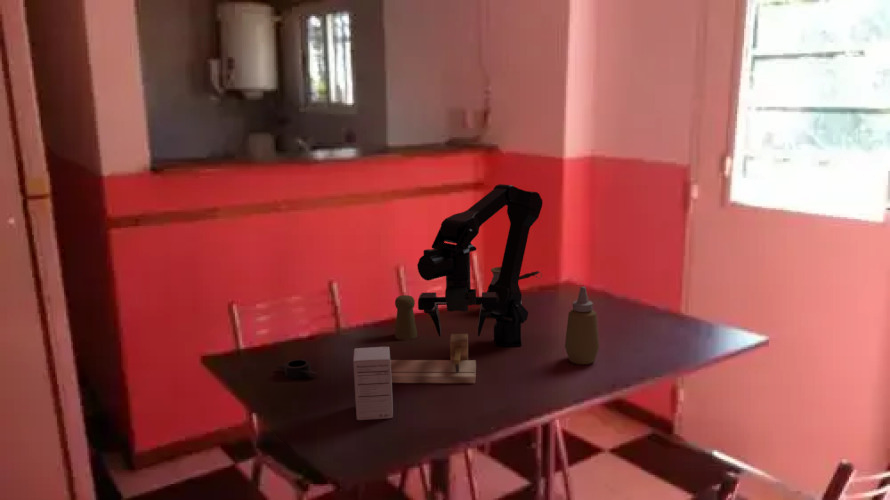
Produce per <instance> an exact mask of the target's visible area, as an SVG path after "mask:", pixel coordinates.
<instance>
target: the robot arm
mask: <svg viewBox="0 0 890 500" xmlns="http://www.w3.org/2000/svg"><path fill="white" fill-rule="evenodd" d="M506 206H507V208H506V214H507V217H508V220H509V224H510V225H509V229H508V232H507V233H508V234H507V239H506V243H505V247H504V253H503V257H502V262H501V266H500V267H501V270H500V275H499V279H498V280H497V281H496V282H495V284H494V285H492V284H490V283H489V284H488V287H487V290H488V292H487V291H486V292H485V291H483V292H481V296H477V289H476V288H471V286H472V285H471V252H474V251H477V247H476V246H475V245H473V244H472V242H473V240H474V239H475V238H476V237H477V236H478V234H479V232H480V227H482V225H483V224H485V223H486V222H487V221H488V220H490V219H491V218H492V217H493V216H494V215H495V214H497V213H498V212H499V211H500V210H502V209H503V208H504V207H506ZM542 208H543V199H542V197H541V195H540V193H539V192H537V191H528V190H526V189H525V190H524V189H520V188H519V187H516V186H514V185H513V184H511V185H510V184H504V183H503V184H501V183H499V184H496V185H495V186H494V187H493V189H492V190H491V191H490V192H488V193H487V194H486V195H485V196H483V197H482V198H480V199H479V200H478V201H477V202H475V203H474V204H473V205H472V206H470V207H469V208H468V209H467V210H465V211H462V212H458V213H454V214H452V215H450V216H448V217H446V218H444V219H443V221H442V222H441V224H440V227H439V229H438V231H437V233H436V236H435V238H434V241H433V242H432V245H431V249H428V248H427V249H424V250H423V255H422V256H421V257H419V259H418V262H417V264H416V265H417V271H418V274H419V276H420V277H421V278H422V280H425V281H427V282H428V281H432V280H436V279H439V278H444V277H445V286H446V287H445V291H444V296H437V292H421V293H420V294H419V296H418V298H417V299H418V300H417V309H418V311H423V312H424V314H428V315H429V316H430V318H431V320H432V321H433V323H434V327H435V330H436V332H437V335H438V337H442V328H441V327H442V326H441V319H440V311H439V306H446V310H447V312H463V313H465V312H467V311H468V310H469V306H476V305H478V306H480V309H479V316H478V326H477V337H480V336H481V333H482V329H483V326H484V323H485V321H486V318H487V316H488V315H489V318H490V319H495V322H494V323H493V341H494V342H495V346H496V347H521V346H522V345H523V343H522V324H524V323H525V322H526V321H528V317H529V311H528V310H527V309H526V307H524V305H523V303H522V304H521V301H522V292H521V288H520V284H519V281H520V280H519V276H521V275H520V274H521V272H522V271H521V270H522V265H523V261H524V257H525V252H526V247H527V241H528V238H529V233H530V230H531V226H533V224H534V223H535V222H536V221H537V220H538V219H539V217H540V214H541V210H542Z"/></svg>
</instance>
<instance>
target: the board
mask: <svg viewBox="0 0 890 500" xmlns="http://www.w3.org/2000/svg"><path fill="white" fill-rule="evenodd" d="M390 361H391V378H392V384H476V375H477V374H476V372H477V371H476V370H477V360H476V359H473V360H471V359H468V360H460V364H459V372H456V369H455V364H454V360H450V359H402V360H401V359H390Z"/></svg>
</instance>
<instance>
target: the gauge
mask: <svg viewBox="0 0 890 500" xmlns="http://www.w3.org/2000/svg"><path fill="white" fill-rule="evenodd" d="M449 354H450V355H449V356H450V357H449V358H450V359H449V360H454V364H455V369H456V372H459V364H460V360H469V333H451V335H450V340H449Z"/></svg>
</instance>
